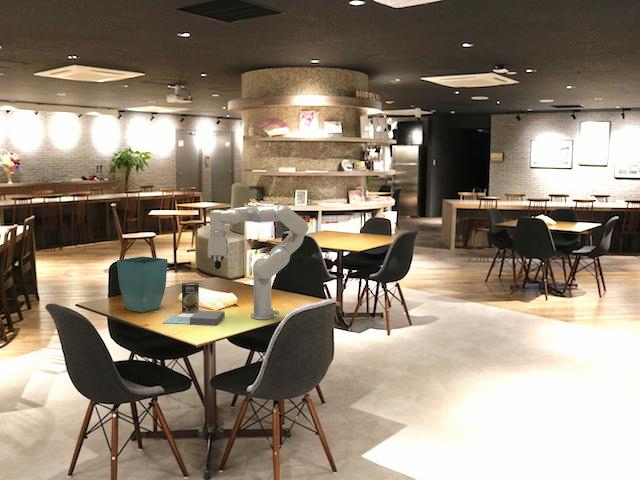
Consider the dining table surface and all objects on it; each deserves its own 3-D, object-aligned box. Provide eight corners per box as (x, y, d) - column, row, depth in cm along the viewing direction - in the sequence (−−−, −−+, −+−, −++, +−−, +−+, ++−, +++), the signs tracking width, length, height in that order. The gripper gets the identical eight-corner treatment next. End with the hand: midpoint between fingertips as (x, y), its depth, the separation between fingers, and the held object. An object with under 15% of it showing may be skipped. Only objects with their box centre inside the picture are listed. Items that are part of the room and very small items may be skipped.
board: (224, 317, 337) (224, 311, 336) (216, 325, 321) (216, 318, 320) (199, 316, 338) (199, 310, 338) (189, 324, 322) (189, 317, 322)
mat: (198, 316, 338) (198, 316, 338) (189, 324, 322) (189, 323, 322) (172, 315, 340) (172, 315, 340) (162, 323, 324) (162, 322, 324)
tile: (196, 317, 334) (196, 313, 334) (192, 321, 327) (192, 317, 327) (181, 317, 335) (181, 313, 335) (177, 320, 328) (177, 316, 328)
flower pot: (144, 303, 367) (142, 255, 363) (169, 308, 357) (168, 258, 353) (117, 310, 350) (115, 260, 346) (142, 315, 340) (141, 263, 336)
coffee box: (181, 314, 343) (181, 285, 341) (182, 311, 350) (181, 282, 348) (199, 313, 345) (198, 284, 343) (198, 310, 351) (198, 282, 349)
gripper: (233, 233, 331) (233, 267, 333) (205, 232, 332) (206, 267, 335) (229, 235, 323) (230, 270, 326) (201, 234, 325) (201, 269, 327)
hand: (218, 268), depth 330 cm, fingers closed
